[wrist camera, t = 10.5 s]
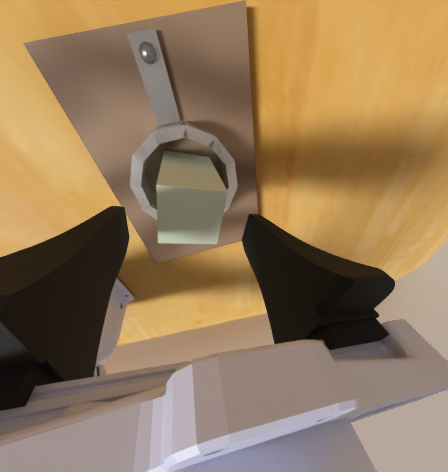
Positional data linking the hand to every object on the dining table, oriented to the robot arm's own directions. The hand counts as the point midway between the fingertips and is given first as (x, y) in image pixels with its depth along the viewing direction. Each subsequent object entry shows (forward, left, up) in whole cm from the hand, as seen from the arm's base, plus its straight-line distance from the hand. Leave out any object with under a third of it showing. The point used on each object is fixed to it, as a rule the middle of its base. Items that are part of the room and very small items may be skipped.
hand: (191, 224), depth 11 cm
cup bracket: (0, 0, -10) cm, 10 cm away
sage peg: (0, 0, -9) cm, 9 cm away
